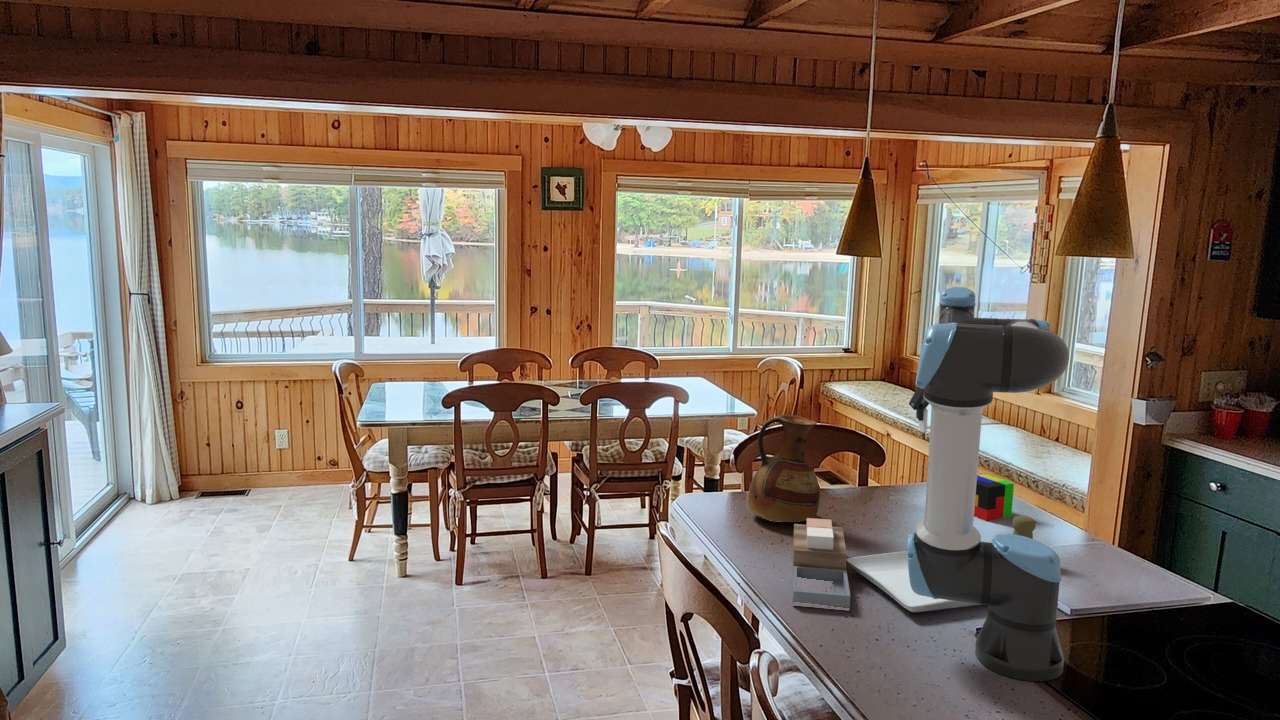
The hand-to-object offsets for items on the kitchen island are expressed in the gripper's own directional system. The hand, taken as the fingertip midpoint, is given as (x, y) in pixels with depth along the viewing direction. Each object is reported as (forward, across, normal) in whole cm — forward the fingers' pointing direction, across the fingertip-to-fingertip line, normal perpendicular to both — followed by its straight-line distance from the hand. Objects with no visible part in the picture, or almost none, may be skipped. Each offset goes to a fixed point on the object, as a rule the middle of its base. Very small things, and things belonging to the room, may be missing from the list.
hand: (948, 424), depth 202 cm
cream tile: (+15, +40, +15) cm, 45 cm away
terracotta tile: (+18, +38, +10) cm, 43 cm away
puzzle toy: (+45, -21, -12) cm, 51 cm away
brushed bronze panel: (+23, +40, +14) cm, 48 cm away
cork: (+32, -12, +19) cm, 38 cm away
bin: (+17, +45, +29) cm, 56 cm away
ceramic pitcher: (+35, +38, -18) cm, 55 cm away
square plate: (+22, +20, +29) cm, 42 cm away
